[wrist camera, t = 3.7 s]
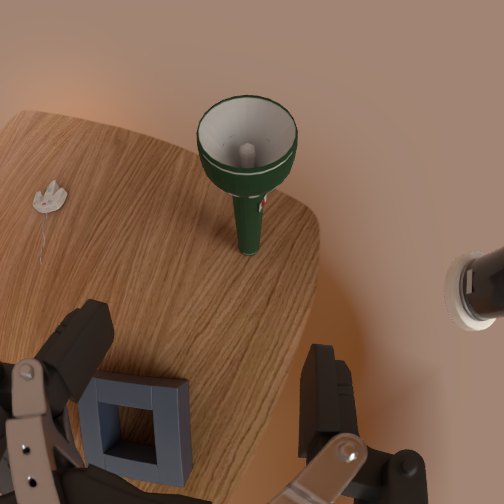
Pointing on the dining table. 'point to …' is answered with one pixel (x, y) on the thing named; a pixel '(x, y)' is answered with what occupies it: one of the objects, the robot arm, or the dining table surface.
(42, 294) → the dining table surface
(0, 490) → the picture frame
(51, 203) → the game controller
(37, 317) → the dining table surface
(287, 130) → the flashlight
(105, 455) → the hollow square frame
